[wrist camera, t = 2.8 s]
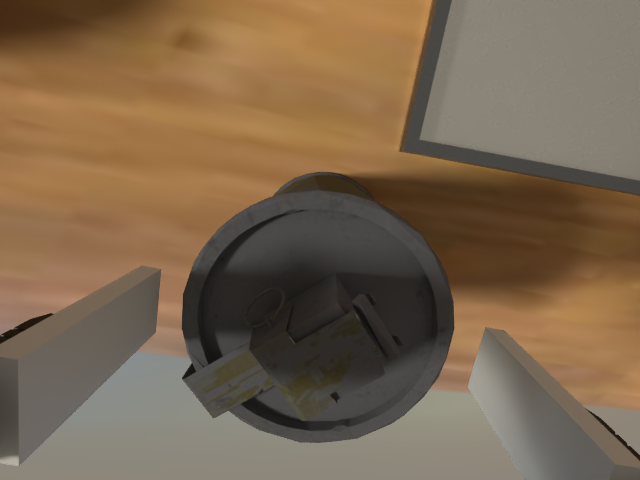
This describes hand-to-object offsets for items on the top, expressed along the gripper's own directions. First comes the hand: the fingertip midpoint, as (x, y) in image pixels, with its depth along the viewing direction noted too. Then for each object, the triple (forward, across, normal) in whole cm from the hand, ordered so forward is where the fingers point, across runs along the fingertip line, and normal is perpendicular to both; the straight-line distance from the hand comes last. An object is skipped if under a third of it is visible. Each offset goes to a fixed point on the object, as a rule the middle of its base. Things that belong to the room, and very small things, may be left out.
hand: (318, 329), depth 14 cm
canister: (+17, 0, 0) cm, 17 cm away
